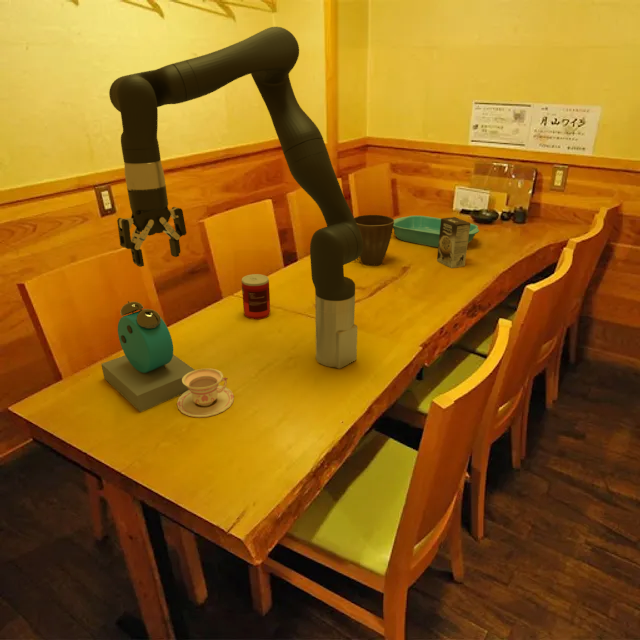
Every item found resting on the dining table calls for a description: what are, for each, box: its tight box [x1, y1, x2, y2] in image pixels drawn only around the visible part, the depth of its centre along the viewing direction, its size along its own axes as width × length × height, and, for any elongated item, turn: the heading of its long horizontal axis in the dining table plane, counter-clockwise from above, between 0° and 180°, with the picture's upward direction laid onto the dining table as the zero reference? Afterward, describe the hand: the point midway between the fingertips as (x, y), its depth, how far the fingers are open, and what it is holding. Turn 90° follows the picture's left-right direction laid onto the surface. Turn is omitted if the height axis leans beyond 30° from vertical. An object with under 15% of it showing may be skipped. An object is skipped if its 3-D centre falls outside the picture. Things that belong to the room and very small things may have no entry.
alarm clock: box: [117, 300, 174, 373], centre depth 113 cm, size 13×6×15 cm, turn 48°
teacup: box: [176, 367, 235, 418], centre depth 110 cm, size 12×12×6 cm
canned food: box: [241, 273, 271, 320], centre depth 149 cm, size 8×8×11 cm
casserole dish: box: [393, 215, 480, 248], centre depth 215 cm, size 37×22×7 cm, turn 52°
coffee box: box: [436, 216, 471, 269], centre depth 187 cm, size 9×6×16 cm
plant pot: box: [354, 214, 395, 267], centre depth 188 cm, size 15×15×16 cm
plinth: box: [100, 354, 196, 413], centre depth 117 cm, size 18×14×4 cm
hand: (158, 260), depth 112 cm, fingers open, 8 cm apart
